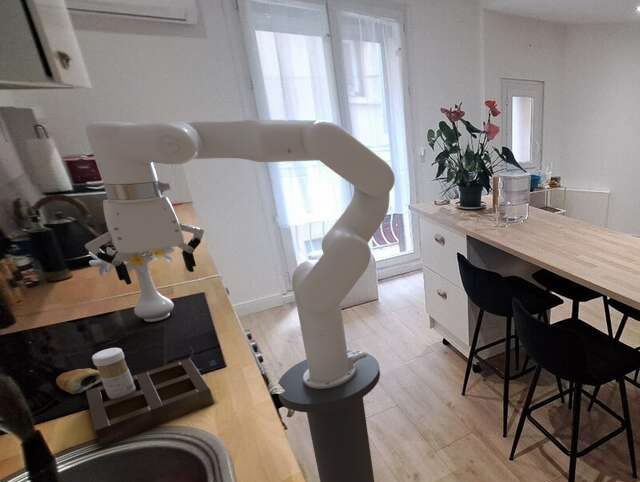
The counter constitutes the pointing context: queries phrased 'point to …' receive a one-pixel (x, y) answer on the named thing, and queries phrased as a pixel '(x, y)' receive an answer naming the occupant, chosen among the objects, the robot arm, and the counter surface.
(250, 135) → the robot arm
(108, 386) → the sprinkles bottle
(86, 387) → the pastry
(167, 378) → the compartment tray
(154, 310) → the flower vase
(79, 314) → the counter surface
